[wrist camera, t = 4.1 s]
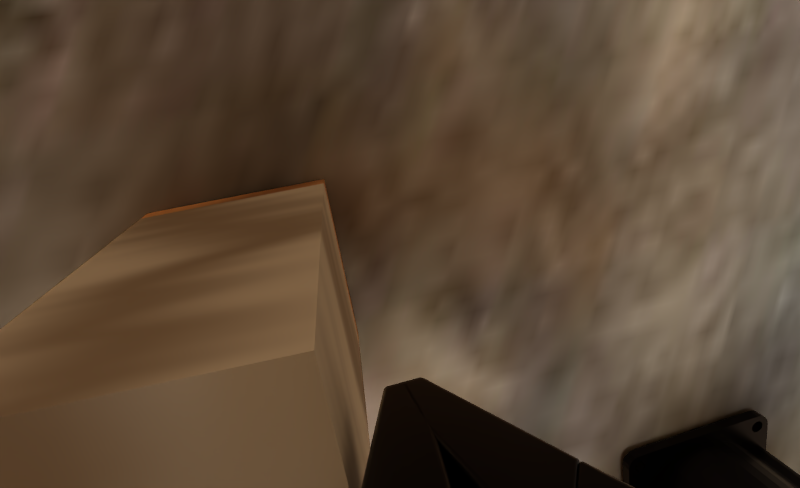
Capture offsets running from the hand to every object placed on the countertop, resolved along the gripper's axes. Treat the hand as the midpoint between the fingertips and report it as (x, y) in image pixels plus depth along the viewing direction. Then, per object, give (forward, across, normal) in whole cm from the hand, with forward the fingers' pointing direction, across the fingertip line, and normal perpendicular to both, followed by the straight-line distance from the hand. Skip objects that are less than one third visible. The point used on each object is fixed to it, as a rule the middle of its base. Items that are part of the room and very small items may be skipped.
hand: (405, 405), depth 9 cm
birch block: (+8, +2, 0) cm, 9 cm away
